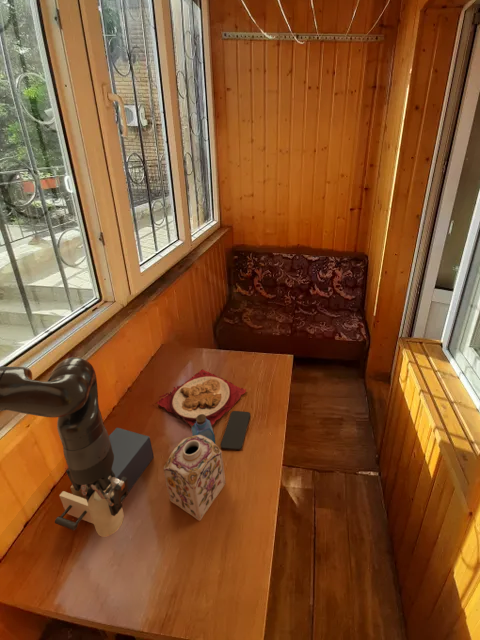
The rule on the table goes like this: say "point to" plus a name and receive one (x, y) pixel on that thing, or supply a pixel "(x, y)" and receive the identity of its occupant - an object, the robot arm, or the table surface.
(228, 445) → the phone
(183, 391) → the plate with food
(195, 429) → the perfume bottle
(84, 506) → the drawer
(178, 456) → the decorative jar
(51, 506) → the table surface
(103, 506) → the candle
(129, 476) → the cabinet
